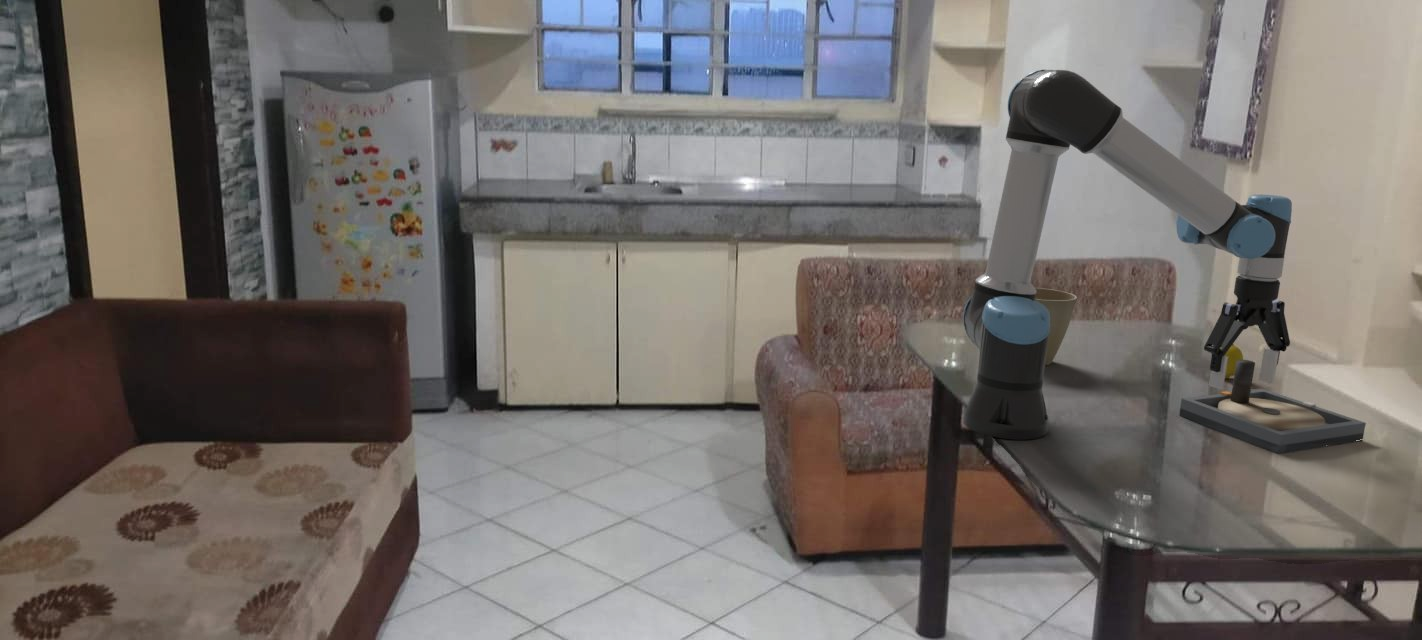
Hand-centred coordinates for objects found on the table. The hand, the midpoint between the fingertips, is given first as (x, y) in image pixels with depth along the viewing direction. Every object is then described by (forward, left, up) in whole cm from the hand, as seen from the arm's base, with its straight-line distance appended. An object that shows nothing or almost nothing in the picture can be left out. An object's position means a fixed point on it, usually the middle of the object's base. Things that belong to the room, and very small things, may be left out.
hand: (1241, 384), depth 203 cm
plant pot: (-12, +45, -7) cm, 47 cm away
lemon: (+21, +21, -7) cm, 31 cm away
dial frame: (0, -7, -6) cm, 10 cm away
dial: (0, -7, -5) cm, 9 cm away
